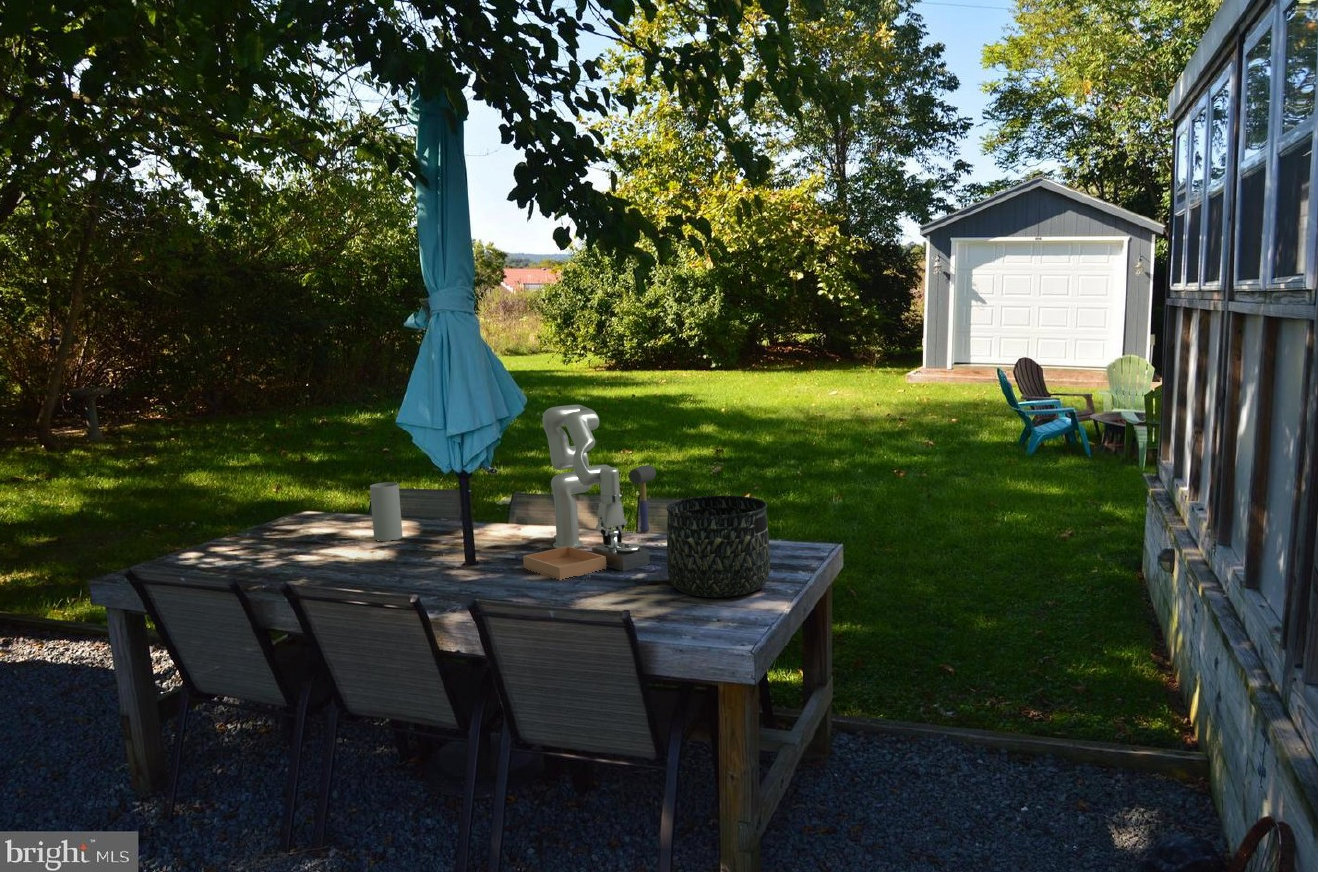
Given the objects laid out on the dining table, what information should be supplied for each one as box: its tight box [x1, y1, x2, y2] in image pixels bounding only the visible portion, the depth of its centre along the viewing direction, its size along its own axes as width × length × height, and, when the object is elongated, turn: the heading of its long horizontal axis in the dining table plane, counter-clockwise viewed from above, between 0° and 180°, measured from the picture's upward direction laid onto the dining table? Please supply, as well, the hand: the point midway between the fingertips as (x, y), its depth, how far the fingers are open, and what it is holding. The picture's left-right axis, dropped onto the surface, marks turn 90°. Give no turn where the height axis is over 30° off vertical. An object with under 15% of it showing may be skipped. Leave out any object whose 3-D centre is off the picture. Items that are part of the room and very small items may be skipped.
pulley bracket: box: [591, 542, 650, 572], centre depth 404 cm, size 20×13×8 cm, turn 39°
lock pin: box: [608, 528, 619, 549], centre depth 408 cm, size 5×5×12 cm
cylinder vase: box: [369, 481, 403, 542], centre depth 462 cm, size 12×12×25 cm
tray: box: [522, 546, 607, 581], centre depth 400 cm, size 26×22×5 cm
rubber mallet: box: [628, 464, 657, 534], centre depth 455 cm, size 12×8×30 cm, turn 146°
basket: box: [665, 494, 771, 598], centre depth 365 cm, size 37×37×30 cm
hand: (612, 542), depth 408 cm, fingers closed on lock pin, 5 cm apart
